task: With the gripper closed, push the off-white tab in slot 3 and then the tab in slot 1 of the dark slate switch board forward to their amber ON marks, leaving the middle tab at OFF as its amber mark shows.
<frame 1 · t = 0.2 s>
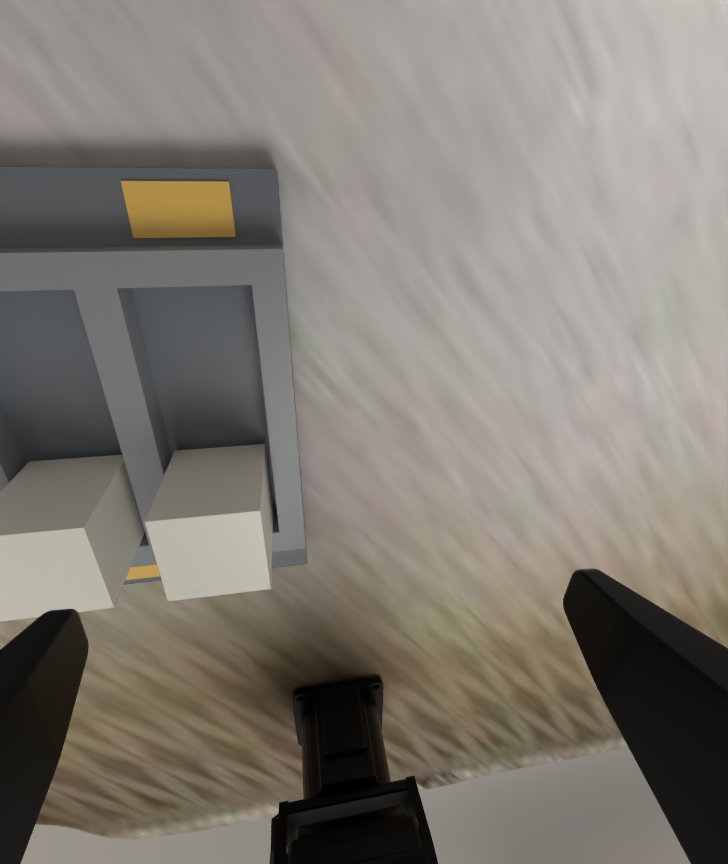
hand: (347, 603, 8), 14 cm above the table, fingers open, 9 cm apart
tab 2: (69, 530, 18), point 4 cm above the table, slide at 0.0 cm
switch board: (82, 412, 20), on the table
tab 1: (220, 516, 19), point 4 cm above the table, slide at 0.0 cm
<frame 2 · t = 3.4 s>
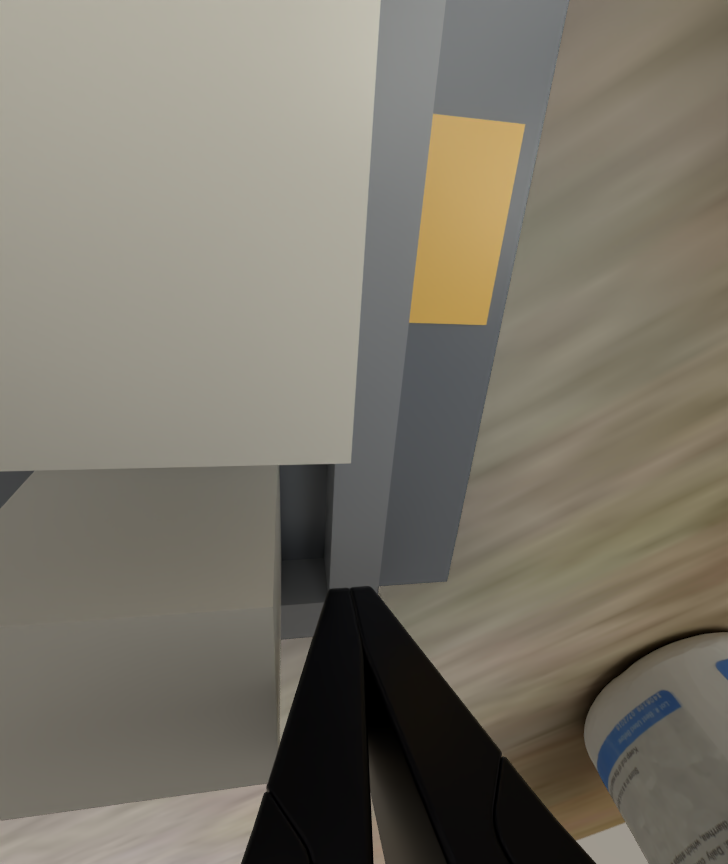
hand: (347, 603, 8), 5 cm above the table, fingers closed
tab 2: (173, 222, 6), point 4 cm above the table, slide at 0.0 cm
tab 3: (166, 582, 8), point 4 cm above the table, slide at 0.8 cm, touching gripper
switch board: (23, 197, 8), on the table
supplement tub: (668, 686, 21), on the table
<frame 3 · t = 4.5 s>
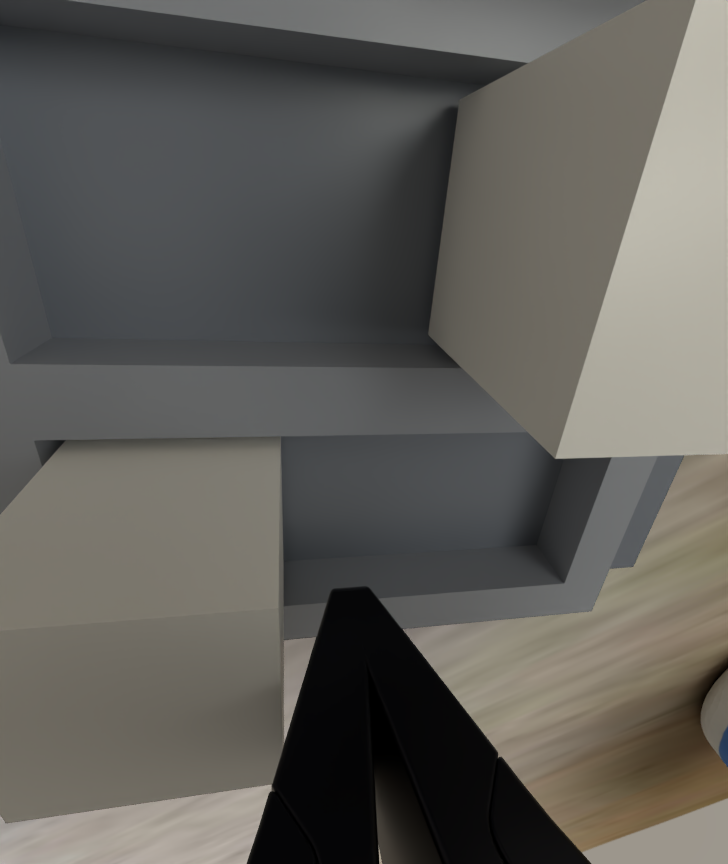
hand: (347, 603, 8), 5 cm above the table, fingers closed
tab 2: (624, 250, 7), point 4 cm above the table, slide at 0.0 cm
tab 3: (170, 583, 8), point 4 cm above the table, slide at 7.1 cm, touching gripper
switch board: (352, 220, 9), on the table
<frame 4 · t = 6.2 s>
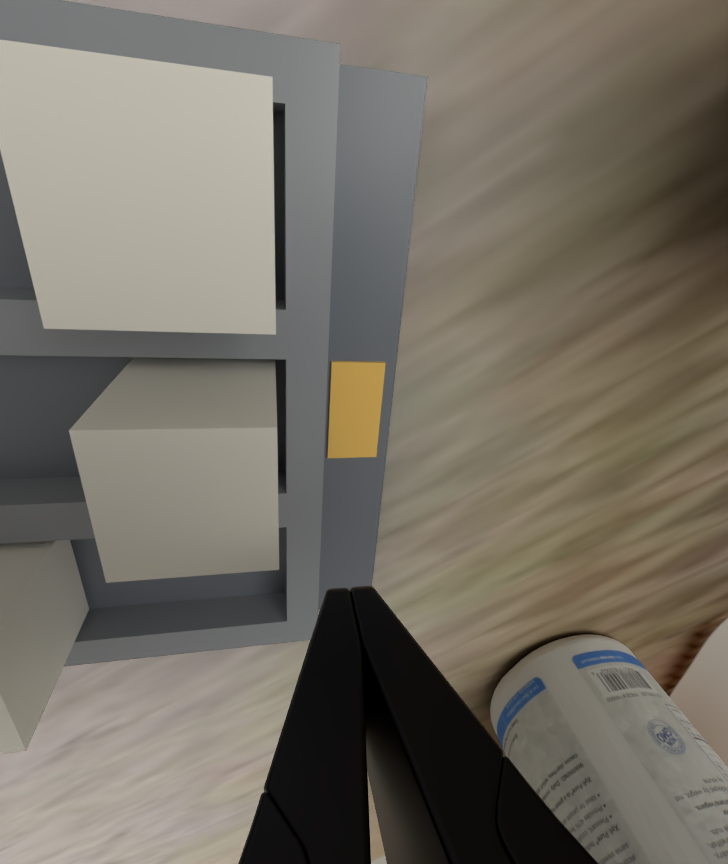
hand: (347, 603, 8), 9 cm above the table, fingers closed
tab 2: (202, 454, 12), point 4 cm above the table, slide at 0.0 cm
switch board: (108, 398, 15), on the table
supplement tub: (555, 676, 28), on the table
tab 1: (178, 209, 10), point 4 cm above the table, slide at 0.0 cm
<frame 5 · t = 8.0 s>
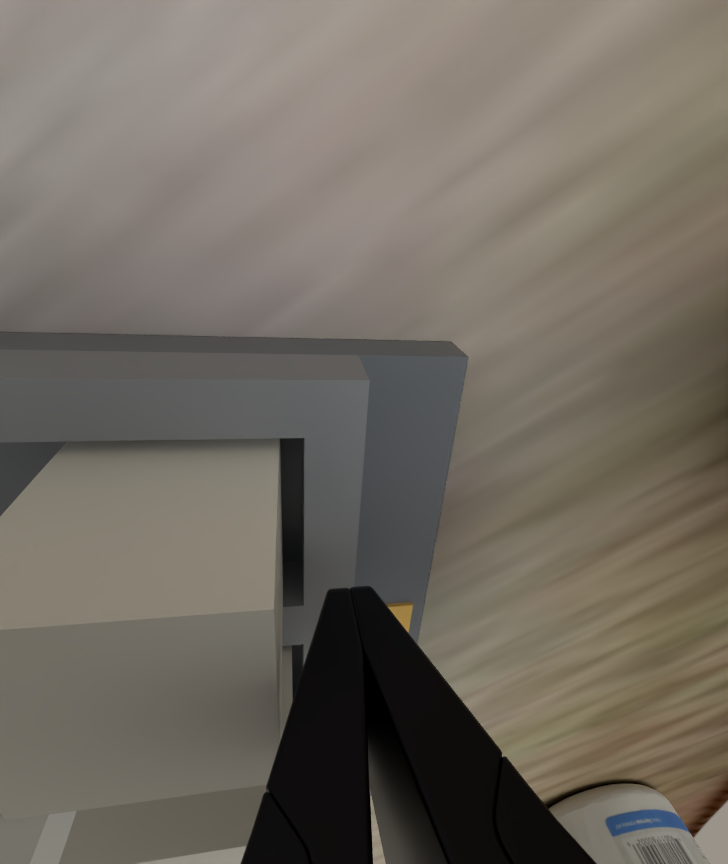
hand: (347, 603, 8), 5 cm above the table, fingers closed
tab 2: (210, 761, 11), point 4 cm above the table, slide at 0.0 cm
switch board: (112, 634, 14), on the table
supplement tub: (584, 815, 27), on the table
tab 1: (169, 584, 8), point 4 cm above the table, slide at 0.2 cm, touching gripper
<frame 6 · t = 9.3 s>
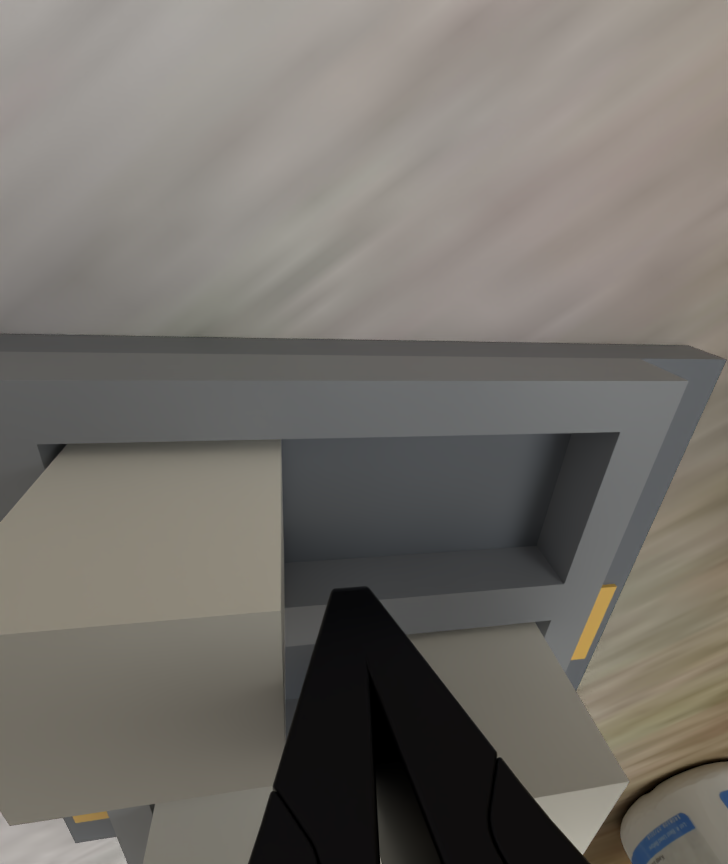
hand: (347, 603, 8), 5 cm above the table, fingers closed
tab 2: (477, 726, 12), point 4 cm above the table, slide at 0.0 cm
switch board: (333, 616, 15), on the table
supplement tub: (683, 793, 28), on the table
tab 1: (171, 586, 8), point 4 cm above the table, slide at 7.1 cm, touching gripper
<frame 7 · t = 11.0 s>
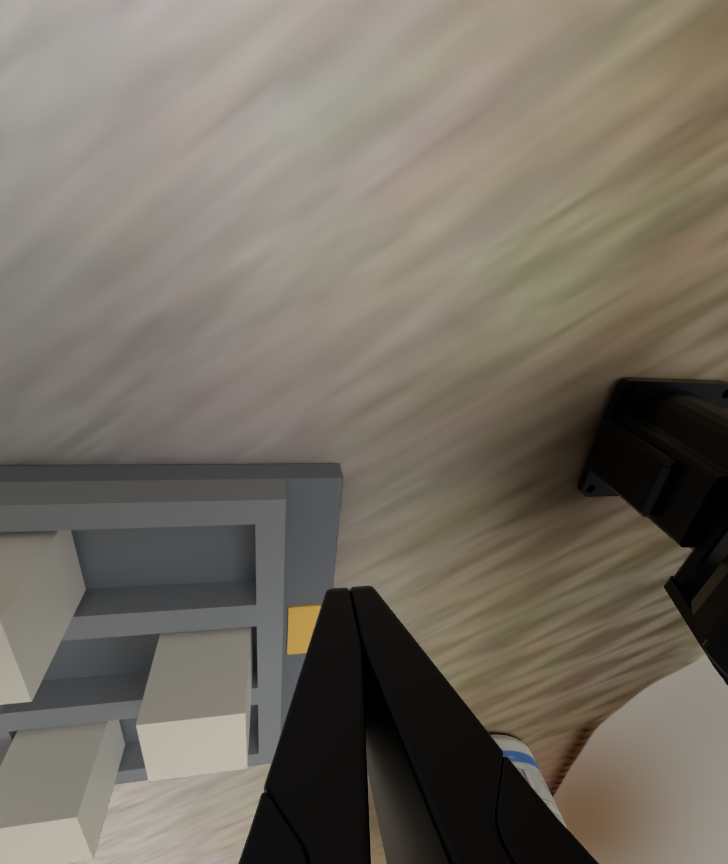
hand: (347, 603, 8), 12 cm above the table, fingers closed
tab 2: (204, 689, 20), point 4 cm above the table, slide at 0.0 cm
tab 3: (59, 781, 22), point 4 cm above the table, slide at 7.1 cm
switch board: (144, 621, 23), on the table
supplement tub: (472, 760, 36), on the table
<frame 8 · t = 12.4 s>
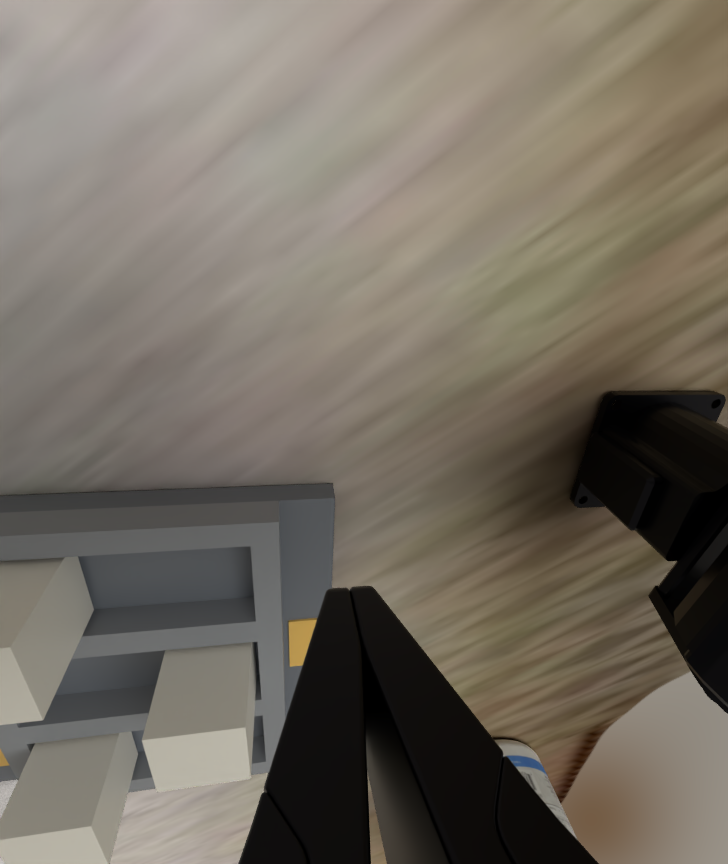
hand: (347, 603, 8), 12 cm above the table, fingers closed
tab 2: (208, 702, 21), point 4 cm above the table, slide at 0.0 cm
tab 3: (75, 791, 23), point 4 cm above the table, slide at 7.1 cm
switch board: (151, 637, 24), on the table
supplement tub: (479, 764, 37), on the table
tab 1: (2, 629, 17), point 4 cm above the table, slide at 7.1 cm
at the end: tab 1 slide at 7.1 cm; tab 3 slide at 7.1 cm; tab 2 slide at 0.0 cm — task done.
